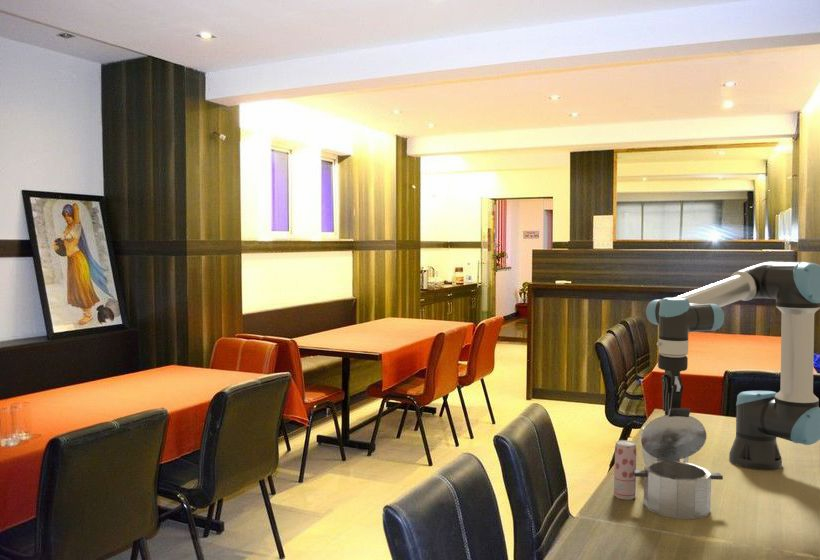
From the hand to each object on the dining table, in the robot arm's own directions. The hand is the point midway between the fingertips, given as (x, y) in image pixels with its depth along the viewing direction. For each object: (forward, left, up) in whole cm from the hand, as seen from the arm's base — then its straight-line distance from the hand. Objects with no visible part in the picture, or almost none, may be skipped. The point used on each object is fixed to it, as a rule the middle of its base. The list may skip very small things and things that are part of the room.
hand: (670, 440), depth 191 cm
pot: (0, +7, -16) cm, 18 cm away
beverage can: (+12, 0, -16) cm, 20 cm away
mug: (-4, -22, -16) cm, 28 cm away
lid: (0, +3, +2) cm, 4 cm away
